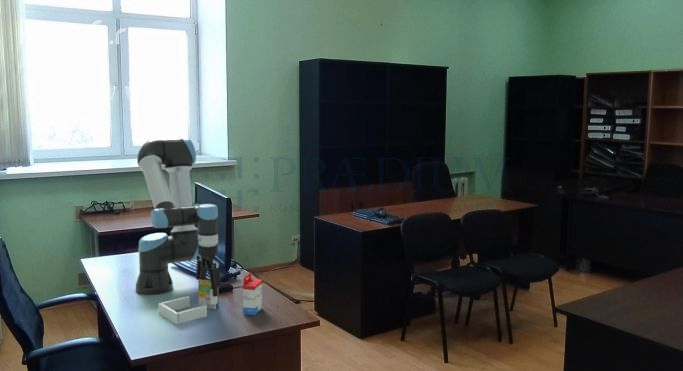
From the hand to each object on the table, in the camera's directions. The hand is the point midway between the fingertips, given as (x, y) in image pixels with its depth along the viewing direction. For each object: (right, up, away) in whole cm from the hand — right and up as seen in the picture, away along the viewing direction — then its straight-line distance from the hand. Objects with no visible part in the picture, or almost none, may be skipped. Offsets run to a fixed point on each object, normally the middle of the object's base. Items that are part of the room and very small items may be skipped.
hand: (208, 300), depth 228 cm
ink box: (+18, -4, -2) cm, 18 cm away
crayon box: (0, -3, +1) cm, 3 cm away
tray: (-8, -4, -7) cm, 11 cm away
